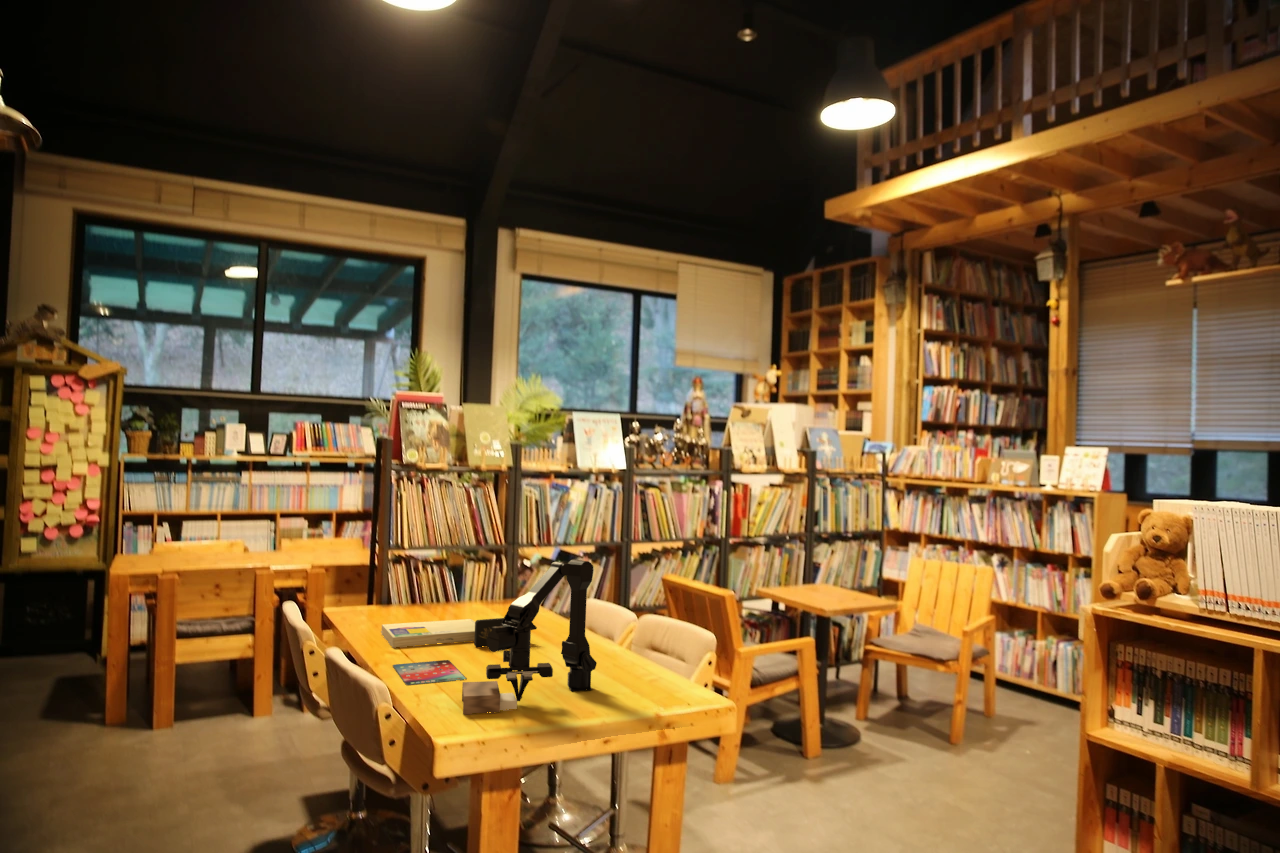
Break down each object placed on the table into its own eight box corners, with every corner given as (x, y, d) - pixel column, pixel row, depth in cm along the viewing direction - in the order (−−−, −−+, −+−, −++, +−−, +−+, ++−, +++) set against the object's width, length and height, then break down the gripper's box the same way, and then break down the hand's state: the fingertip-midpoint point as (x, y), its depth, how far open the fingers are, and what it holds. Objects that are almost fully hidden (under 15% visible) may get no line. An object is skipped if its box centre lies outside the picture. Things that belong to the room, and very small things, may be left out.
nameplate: (527, 642, 316) (528, 616, 316) (528, 643, 314) (529, 617, 314) (474, 647, 305) (475, 620, 306) (475, 648, 304) (476, 621, 304)
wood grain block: (496, 698, 243) (497, 681, 243) (499, 713, 229) (500, 694, 230) (462, 699, 241) (462, 682, 241) (463, 714, 227) (463, 696, 227)
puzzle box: (487, 642, 316) (471, 629, 337) (488, 630, 316) (471, 618, 337) (390, 650, 299) (380, 635, 321) (391, 637, 300) (380, 623, 321)
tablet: (406, 687, 253) (406, 684, 253) (391, 666, 276) (392, 664, 276) (467, 681, 262) (467, 678, 262) (448, 661, 284) (449, 659, 284)
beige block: (512, 703, 241) (513, 692, 241) (516, 711, 233) (517, 700, 233) (478, 705, 238) (478, 694, 238) (481, 713, 230) (481, 702, 230)
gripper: (549, 639, 248) (547, 691, 248) (486, 640, 244) (484, 694, 243) (553, 648, 237) (552, 702, 237) (488, 649, 233) (486, 705, 232)
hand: (518, 700), depth 238 cm, fingers closed
